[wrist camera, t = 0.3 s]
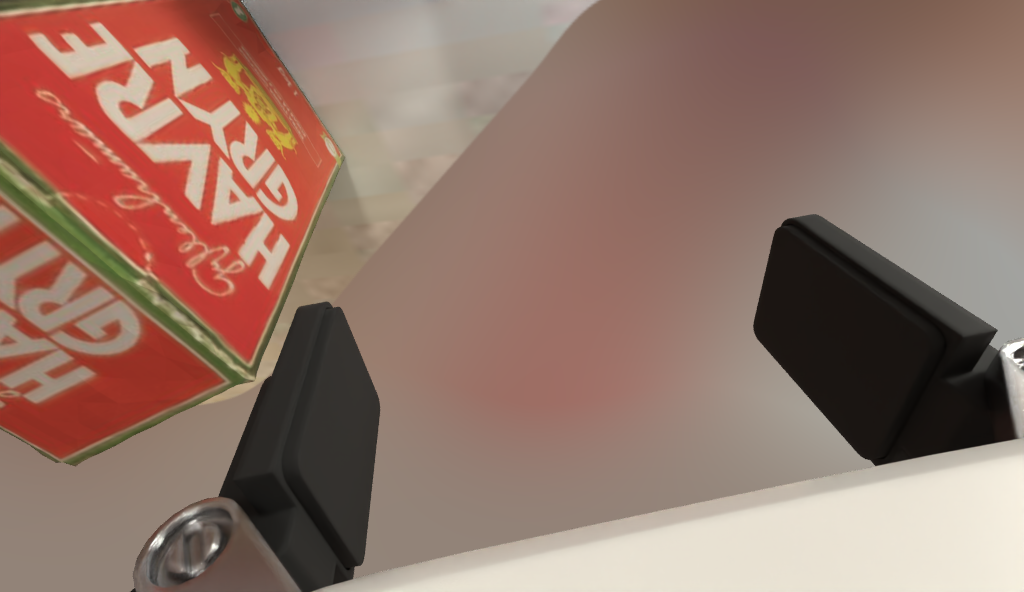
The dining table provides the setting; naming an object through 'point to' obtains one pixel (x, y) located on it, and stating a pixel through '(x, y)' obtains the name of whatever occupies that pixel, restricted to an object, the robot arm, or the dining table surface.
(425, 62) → the dining table surface
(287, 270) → the food packaging
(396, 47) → the dining table surface
